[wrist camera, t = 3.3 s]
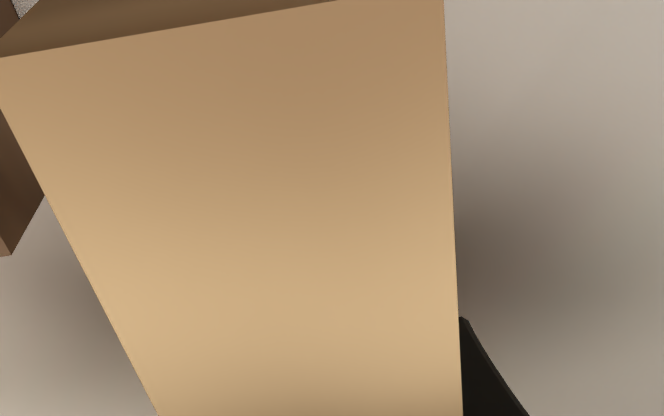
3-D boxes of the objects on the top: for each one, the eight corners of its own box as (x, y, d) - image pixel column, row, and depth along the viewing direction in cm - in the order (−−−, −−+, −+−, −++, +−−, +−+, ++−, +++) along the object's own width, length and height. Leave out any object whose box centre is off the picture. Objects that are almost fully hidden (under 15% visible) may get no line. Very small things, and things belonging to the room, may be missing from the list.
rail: (422, 441, 17) (477, 717, 12) (313, 456, 17) (323, 736, 12) (357, -144, 9) (443, -19, 4) (147, -106, 9) (-23, 62, 4)
